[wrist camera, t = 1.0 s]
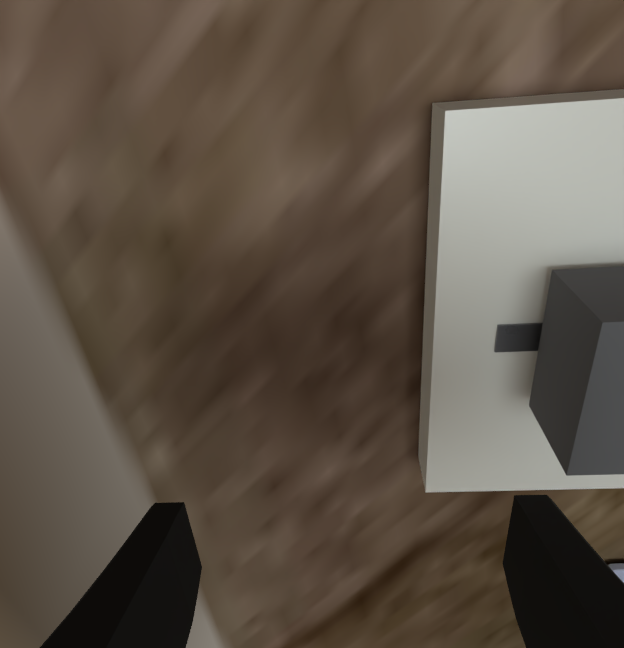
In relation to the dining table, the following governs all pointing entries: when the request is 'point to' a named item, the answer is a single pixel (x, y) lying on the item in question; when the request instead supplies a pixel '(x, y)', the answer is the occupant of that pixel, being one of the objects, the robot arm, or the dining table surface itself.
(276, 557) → the dining table surface
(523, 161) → the dimmer panel
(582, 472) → the fader knob
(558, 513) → the robot arm
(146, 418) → the dining table surface
